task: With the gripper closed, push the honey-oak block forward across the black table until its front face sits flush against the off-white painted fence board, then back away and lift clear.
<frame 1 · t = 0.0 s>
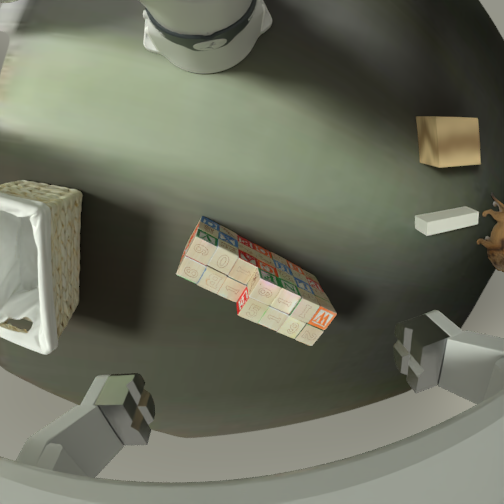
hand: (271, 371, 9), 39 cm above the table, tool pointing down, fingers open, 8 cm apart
storage basket: (47, 243, 46), on the table
stack of blocks: (252, 262, 50), on the table
oak block: (439, 138, 44), on the table
fence board: (442, 216, 50), on the table
lion figurine: (485, 227, 52), on the table
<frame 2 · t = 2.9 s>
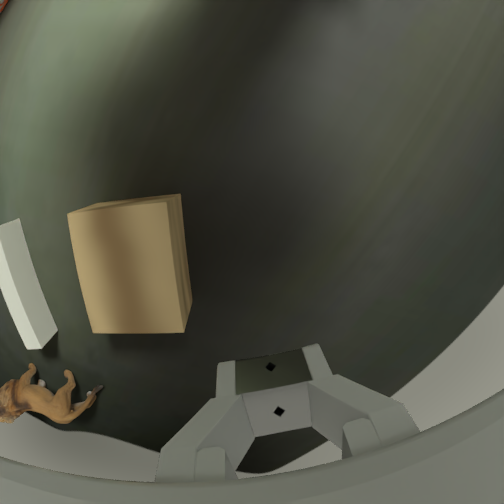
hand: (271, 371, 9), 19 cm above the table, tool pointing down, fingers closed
oak block: (144, 252, 27), on the table
fence board: (29, 278, 27), on the table
lion figurine: (55, 380, 31), on the table
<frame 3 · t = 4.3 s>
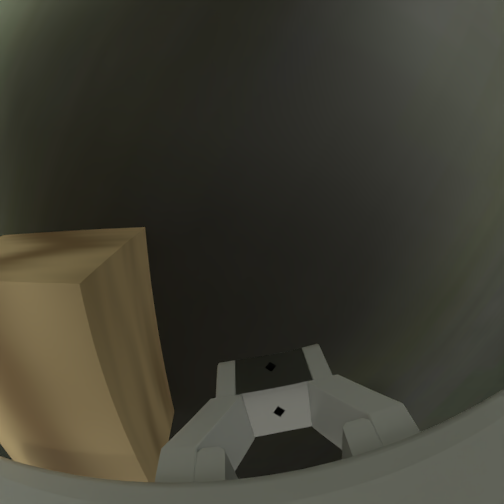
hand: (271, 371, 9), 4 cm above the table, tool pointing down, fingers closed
oak block: (84, 329, 13), on the table
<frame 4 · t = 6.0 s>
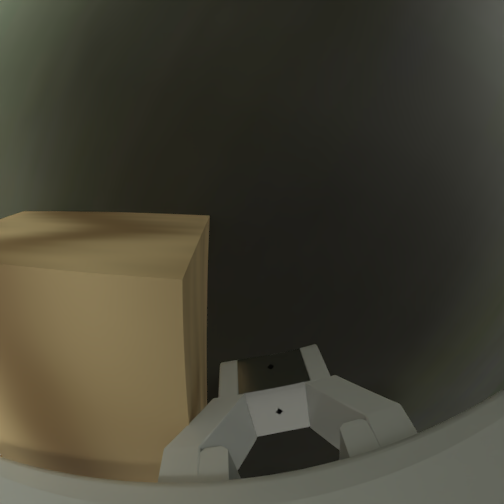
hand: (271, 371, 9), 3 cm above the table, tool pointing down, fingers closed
oak block: (113, 331, 12), on the table, touching gripper
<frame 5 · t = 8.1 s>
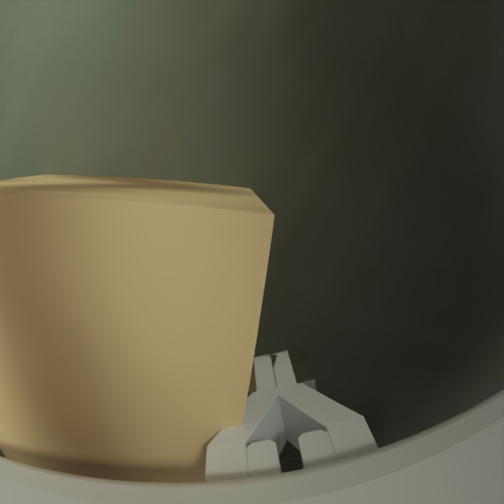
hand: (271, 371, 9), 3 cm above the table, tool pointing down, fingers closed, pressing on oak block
oak block: (132, 309, 11), on the table, touching fence board, gripper
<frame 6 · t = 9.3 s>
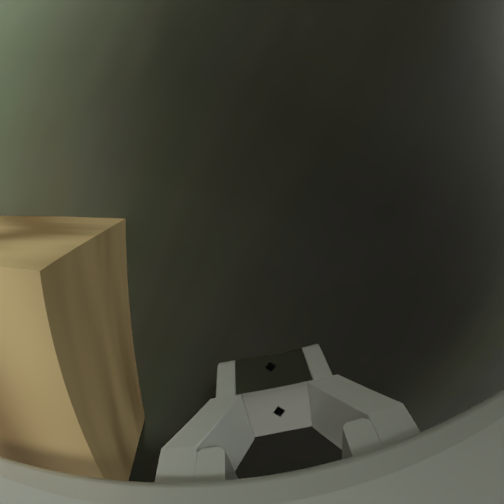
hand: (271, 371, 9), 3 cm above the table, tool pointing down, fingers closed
oak block: (56, 323, 12), on the table
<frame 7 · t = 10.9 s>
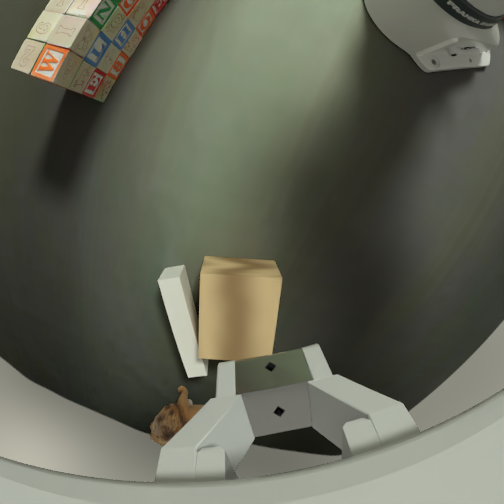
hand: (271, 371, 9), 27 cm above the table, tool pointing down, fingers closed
stack of blocks: (129, 22, 27), on the table
oak block: (236, 297, 37), on the table
fence board: (187, 315, 37), on the table
lion figurine: (204, 397, 41), on the table
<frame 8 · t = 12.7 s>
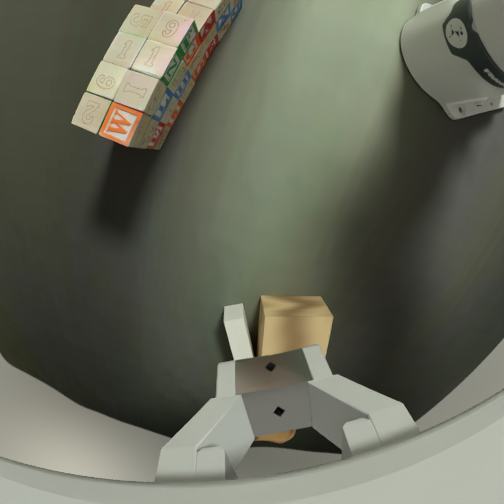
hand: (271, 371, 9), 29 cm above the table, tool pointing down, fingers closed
stack of blocks: (178, 64, 32), on the table
oak block: (287, 328, 42), on the table
fence board: (243, 345, 42), on the table
lion figurine: (255, 412, 46), on the table
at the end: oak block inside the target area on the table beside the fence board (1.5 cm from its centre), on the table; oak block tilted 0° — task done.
